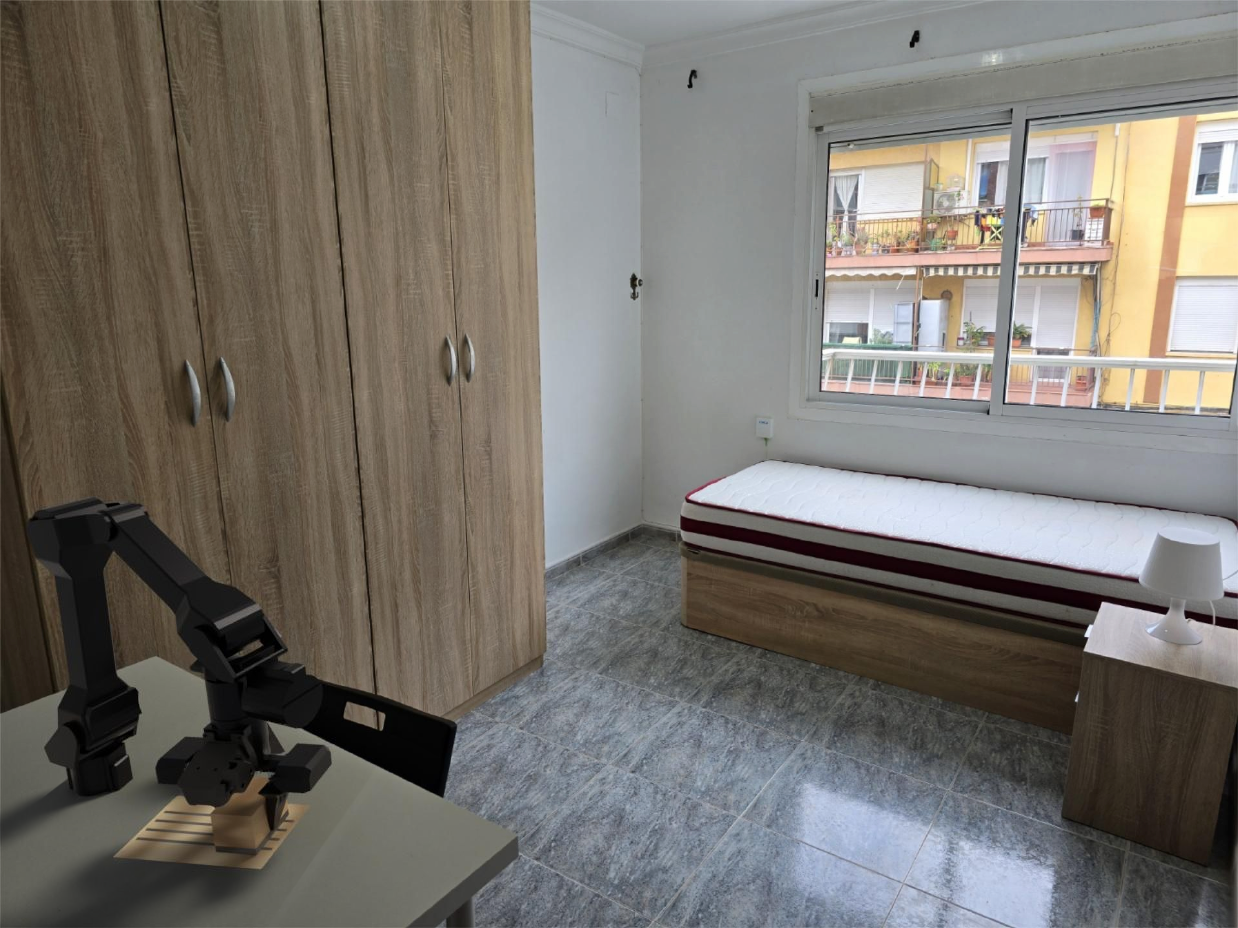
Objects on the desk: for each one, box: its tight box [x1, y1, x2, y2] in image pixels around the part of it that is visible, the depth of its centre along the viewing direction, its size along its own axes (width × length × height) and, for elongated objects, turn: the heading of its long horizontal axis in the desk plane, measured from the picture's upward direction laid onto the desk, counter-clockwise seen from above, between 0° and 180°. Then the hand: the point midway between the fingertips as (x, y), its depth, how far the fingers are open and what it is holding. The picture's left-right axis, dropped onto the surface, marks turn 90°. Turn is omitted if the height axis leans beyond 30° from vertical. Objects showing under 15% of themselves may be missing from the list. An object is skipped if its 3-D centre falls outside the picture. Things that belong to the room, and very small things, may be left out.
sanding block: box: [210, 776, 289, 855], centre depth 92 cm, size 5×7×5 cm
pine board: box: [113, 795, 311, 870], centre depth 93 cm, size 18×11×1 cm, turn 83°
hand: (253, 826), depth 92 cm, fingers closed on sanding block, 5 cm apart
